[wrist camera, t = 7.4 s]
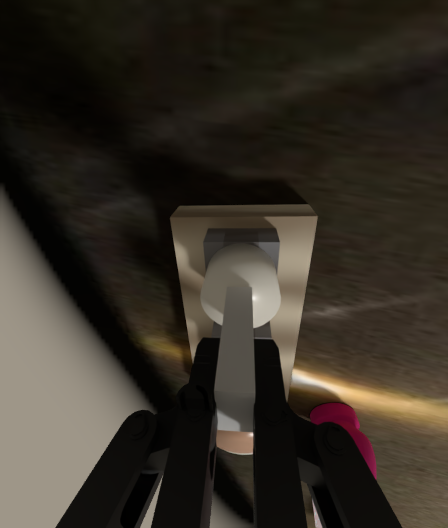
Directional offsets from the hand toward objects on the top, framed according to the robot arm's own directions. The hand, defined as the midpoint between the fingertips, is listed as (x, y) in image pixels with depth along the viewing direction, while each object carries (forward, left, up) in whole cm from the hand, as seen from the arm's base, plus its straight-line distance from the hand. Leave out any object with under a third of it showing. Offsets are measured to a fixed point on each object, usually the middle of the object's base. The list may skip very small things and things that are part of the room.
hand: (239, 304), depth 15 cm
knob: (0, 0, -6) cm, 6 cm away
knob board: (+9, 0, -9) cm, 12 cm away
